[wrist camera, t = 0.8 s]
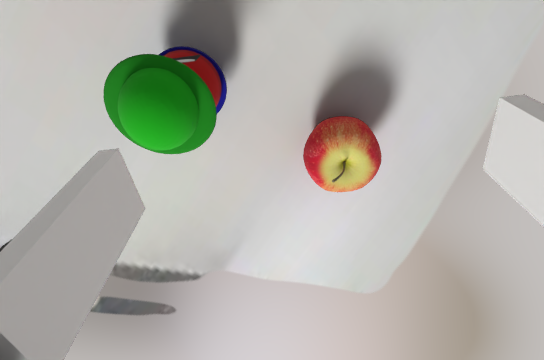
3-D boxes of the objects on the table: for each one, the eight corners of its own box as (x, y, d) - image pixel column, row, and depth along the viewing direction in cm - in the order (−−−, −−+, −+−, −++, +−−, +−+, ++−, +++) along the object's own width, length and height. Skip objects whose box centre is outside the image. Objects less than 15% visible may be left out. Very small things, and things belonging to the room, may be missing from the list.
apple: (300, 106, 38) (308, 145, 30) (373, 103, 38) (401, 141, 30) (300, 166, 43) (307, 215, 34) (365, 164, 42) (388, 212, 34)
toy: (149, 102, 38) (88, 167, 25) (148, 22, 33) (72, 53, 21) (226, 115, 39) (204, 185, 26) (235, 39, 34) (214, 80, 22)
